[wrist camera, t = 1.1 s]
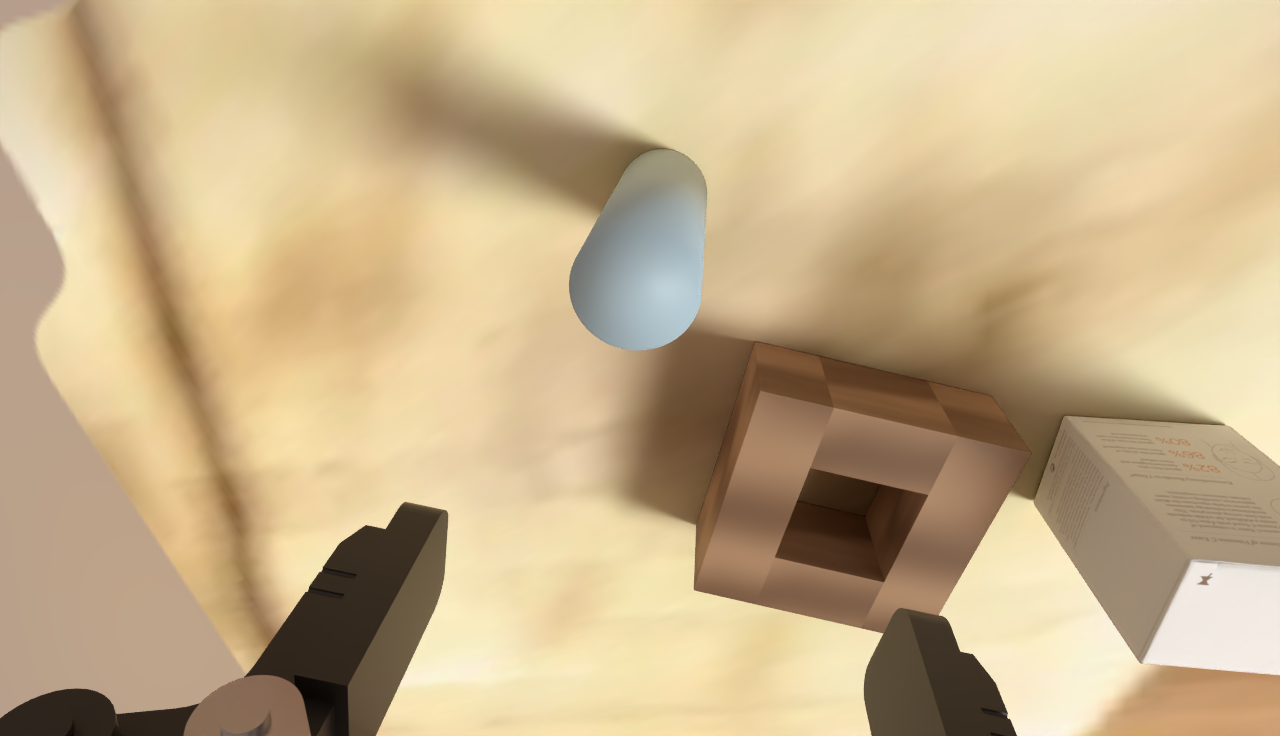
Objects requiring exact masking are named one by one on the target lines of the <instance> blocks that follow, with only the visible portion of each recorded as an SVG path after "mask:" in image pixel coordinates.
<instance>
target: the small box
mask: <svg viewBox="0 0 1280 736" xmlns="http://www.w3.org/2000/svg"><path fill="white" fill-rule="evenodd" d="M1034 505H1035V507H1036V508H1037V509H1038V511H1039V512H1040V514H1041V515H1042V517H1043V519H1044V520H1045V522H1046V523H1047V525H1048V526H1049V528H1050V529H1051V531H1052V532H1053V534H1054V535H1055V537H1056V538H1057V540H1058V541H1059V543H1060V544H1061V546H1062V547H1063V549H1064V550H1065V552H1066V553H1067V555H1068V556H1069V558H1070V559H1071V561H1072V562H1073V564H1074V565H1075V567H1076V568H1077V570H1078V571H1079V573H1080V574H1081V576H1082V577H1083V579H1084V580H1085V582H1086V583H1087V585H1088V586H1089V588H1090V589H1091V591H1092V592H1093V594H1094V595H1095V597H1096V598H1097V600H1098V601H1099V603H1100V604H1101V606H1102V607H1103V609H1104V610H1105V612H1106V613H1107V615H1108V616H1109V618H1110V619H1111V621H1112V622H1113V624H1114V625H1115V627H1116V628H1117V630H1118V631H1119V633H1120V634H1121V636H1122V637H1123V639H1124V640H1125V642H1126V643H1127V645H1128V646H1129V648H1130V649H1131V651H1132V652H1133V654H1134V655H1135V657H1136V658H1137V660H1138V661H1139V662H1140V663H1141V664H1155V665H1166V666H1178V667H1190V668H1202V669H1214V670H1226V671H1238V672H1249V673H1261V674H1272V675H1280V466H1279V465H1277V464H1276V463H1275V462H1274V461H1272V460H1271V459H1270V458H1269V457H1268V456H1266V455H1265V454H1264V453H1262V452H1261V451H1260V450H1259V449H1257V448H1256V447H1255V446H1254V445H1252V444H1251V443H1250V442H1249V441H1247V440H1246V439H1245V438H1244V437H1243V436H1241V435H1240V434H1239V433H1237V432H1236V431H1235V430H1234V429H1233V428H1232V427H1230V426H1222V425H1204V424H1189V423H1174V422H1157V421H1142V420H1127V419H1110V418H1093V417H1078V416H1064V417H1063V420H1062V423H1061V426H1060V429H1059V432H1058V434H1057V437H1056V440H1055V443H1054V446H1053V448H1052V451H1051V454H1050V457H1049V460H1048V463H1047V466H1046V469H1045V472H1044V475H1043V477H1042V480H1041V483H1040V486H1039V489H1038V491H1037V494H1036V497H1035V500H1034Z"/></svg>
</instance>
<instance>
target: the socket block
mask: <svg viewBox="0 0 1280 736" xmlns="http://www.w3.org/2000/svg"><path fill="white" fill-rule="evenodd" d="M1031 454H1032V453H1031V452H1030V450H1029V449H1028V447H1027V446H1026V444H1025V443H1024V442H1023V440H1022V439H1021V437H1020V436H1019V435H1018V433H1017V432H1016V430H1015V429H1014V427H1013V426H1012V425H1011V423H1010V422H1009V420H1008V419H1007V417H1006V416H1005V415H1004V413H1003V412H1002V410H1001V409H1000V407H999V406H998V405H997V403H996V402H995V400H994V399H993V397H992V396H989V395H985V394H980V393H976V392H972V391H967V390H963V389H959V388H954V387H950V386H946V385H941V384H937V383H933V382H928V381H924V380H920V379H915V378H911V377H907V376H902V375H898V374H894V373H889V372H885V371H881V370H876V369H872V368H868V367H863V366H859V365H855V364H850V363H846V362H842V361H837V360H833V359H829V358H824V357H820V356H816V355H811V354H807V353H803V352H798V351H794V350H790V349H785V348H781V347H777V346H772V345H768V344H764V343H759V342H755V343H754V346H753V349H752V352H751V355H750V358H749V362H748V365H747V368H746V371H745V374H744V377H743V380H742V384H741V387H740V390H739V393H738V396H737V399H736V403H735V406H734V409H733V412H732V415H731V418H730V421H729V425H728V428H727V431H726V434H725V437H724V440H723V443H722V447H721V450H720V453H719V456H718V459H717V462H716V466H715V469H714V472H713V475H712V478H711V481H710V484H709V488H708V491H707V494H706V497H705V500H704V503H703V506H702V510H701V513H700V516H699V519H698V522H697V525H696V548H695V573H694V590H695V591H700V592H704V593H709V594H713V595H717V596H722V597H726V598H731V599H735V600H739V601H744V602H748V603H752V604H757V605H761V606H766V607H770V608H774V609H779V610H783V611H788V612H792V613H796V614H801V615H805V616H810V617H814V618H818V619H823V620H827V621H832V622H836V623H840V624H845V625H849V626H854V627H858V628H862V629H867V630H871V631H876V632H880V633H884V632H885V630H886V628H887V626H888V624H889V622H890V620H891V618H892V616H893V614H894V612H895V611H896V610H897V609H898V608H905V609H910V610H915V611H919V612H924V613H929V614H934V615H939V613H940V611H941V610H942V608H943V606H944V604H945V603H946V601H947V599H948V598H949V596H950V594H951V592H952V591H953V589H954V587H955V585H956V584H957V582H958V580H959V578H960V577H961V575H962V573H963V572H964V570H965V568H966V566H967V565H968V563H969V561H970V559H971V558H972V556H973V554H974V552H975V551H976V549H977V547H978V546H979V544H980V542H981V540H982V539H983V537H984V535H985V533H986V532H987V530H988V528H989V526H990V525H991V523H992V521H993V520H994V518H995V516H996V514H997V513H998V511H999V509H1000V507H1001V506H1002V504H1003V502H1004V500H1005V499H1006V497H1007V495H1008V494H1009V492H1010V490H1011V488H1012V487H1013V485H1014V483H1015V481H1016V480H1017V478H1018V476H1019V474H1020V473H1021V471H1022V469H1023V468H1024V466H1025V464H1026V462H1027V461H1028V459H1029V457H1030V455H1031ZM810 468H813V469H817V470H821V471H826V472H830V473H834V474H839V475H843V476H848V477H852V478H856V479H861V480H865V481H869V482H874V483H878V484H880V485H879V487H878V490H877V492H876V494H875V496H874V498H873V500H872V502H871V505H870V507H869V509H868V511H867V513H866V515H865V516H861V515H857V514H852V513H848V512H844V511H839V510H835V509H830V508H826V507H822V506H817V505H813V504H809V503H804V502H800V501H797V500H798V497H799V495H800V492H801V490H802V487H803V485H804V482H805V480H806V477H807V475H808V472H809V470H810Z"/></svg>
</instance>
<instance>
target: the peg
mask: <svg viewBox="0 0 1280 736" xmlns="http://www.w3.org/2000/svg"><path fill="white" fill-rule="evenodd" d="M706 204H707V187H706V182H705V179H704V176H703V174H702V172H701V170H700V169H699V168H698V166H697V165H696V164H695V163H694V162H693V161H692V160H691V159H690V158H689V157H687V156H685V155H684V154H682V153H680V152H677V151H674V150H669V149H656V150H651V151H648V152H646V153H643V154H641V155H640V156H638V157H637V158H635V159H634V160H633V161H632V162H631V163H630V164H629V165H628V167H627V168H626V169H625V171H624V173H623V175H622V176H621V178H620V180H619V182H618V184H617V185H616V187H615V189H614V191H613V193H612V194H611V196H610V198H609V200H608V202H607V203H606V205H605V207H604V209H603V210H602V212H601V214H600V216H599V218H598V219H597V221H596V223H595V225H594V227H593V228H592V230H591V232H590V234H589V236H588V237H587V239H586V241H585V243H584V245H583V246H582V248H581V250H580V252H579V253H578V255H577V257H576V259H575V261H574V263H573V266H572V269H571V273H570V280H569V292H570V298H571V302H572V305H573V308H574V310H575V312H576V314H577V316H578V318H579V319H580V321H581V322H582V323H583V325H584V326H585V327H586V328H587V329H588V330H589V331H590V332H591V333H592V334H593V335H595V336H596V337H597V338H599V339H600V340H602V341H604V342H605V343H607V344H610V345H612V346H615V347H618V348H621V349H627V350H637V351H640V350H650V349H655V348H658V347H661V346H664V345H666V344H668V343H670V342H672V341H673V340H675V339H677V338H678V337H679V336H680V335H682V334H683V333H684V332H685V331H686V330H687V329H688V327H689V326H690V325H691V323H692V322H693V320H694V318H695V316H696V314H697V312H698V309H699V306H700V302H701V294H702V276H703V258H704V240H705V222H706Z"/></svg>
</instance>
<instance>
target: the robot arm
mask: <svg viewBox="0 0 1280 736" xmlns="http://www.w3.org/2000/svg"><path fill="white" fill-rule="evenodd" d="M447 528H448V513H447V511H446V510H441V509H437V508H432V507H427V506H422V505H418V504H413V503H408V502H404V503H403V504H402V505H401V506H400V507H399V509H398V510H397V512H396V514H395V515H394V517H393V518H392V520H391V522H390V523H389V525H388V526H387V528H386V529H382V528H377V527H372V526H367V525H366V526H364V527H363V528H361V529H360V530H358V531H357V532H355V533H354V534H352V535H351V536H350V537H348V538H347V539H345V540H344V541H342V542H341V543H340V544H339V545H338V546H337V548H336V549H335V551H334V552H333V554H332V555H331V556H330V558H329V559H328V561H327V562H326V564H325V565H324V566H323V570H322V572H319V574H318V575H317V576H316V578H315V579H314V581H313V582H312V584H311V585H310V586H309V590H308V592H305V594H304V595H303V596H302V598H301V599H300V601H299V602H298V604H297V605H296V606H295V608H294V609H293V611H292V612H291V614H290V615H289V617H288V618H287V619H286V621H285V622H284V624H283V625H282V627H281V628H280V629H279V631H278V632H277V634H276V635H275V637H274V638H273V639H272V641H271V642H270V644H269V645H268V647H267V648H266V649H265V651H264V652H263V654H262V655H261V657H260V658H259V659H258V661H257V662H256V664H255V665H254V666H253V668H252V669H251V670H250V671H249V673H248V674H247V675H246V676H245V677H244V678H241V679H238V680H235V681H232V682H230V683H228V684H226V685H224V686H222V687H220V688H218V689H217V690H215V691H214V692H212V693H211V694H210V695H209V696H207V697H206V698H205V699H204V700H203V701H202V702H201V703H199V704H196V705H192V706H188V707H182V708H176V709H166V710H155V711H145V712H135V713H125V714H116V713H115V710H114V706H113V704H112V703H111V701H110V700H109V699H108V698H107V697H105V696H104V695H103V694H100V693H98V692H96V691H92V690H88V689H65V690H60V691H55V692H51V693H48V694H45V695H41V696H39V697H36V698H34V699H31V700H29V701H27V702H25V703H23V704H21V705H19V706H18V707H16V708H14V709H13V710H11V711H10V712H8V713H7V714H5V715H4V716H3V717H2V718H0V736H376V734H377V732H378V730H379V727H380V725H381V723H382V721H383V719H384V717H385V715H386V712H387V710H388V708H389V706H390V704H391V702H392V700H393V697H394V695H395V693H396V691H397V689H398V687H399V685H400V682H401V680H402V678H403V676H404V674H405V672H406V670H407V668H408V665H409V663H410V661H411V659H412V657H413V655H414V653H415V650H416V648H417V646H418V644H419V642H420V640H421V638H422V635H423V633H424V631H425V629H426V627H427V625H428V623H429V620H430V618H431V616H432V614H433V612H434V610H435V607H436V605H437V602H438V599H439V596H440V593H441V589H442V585H443V580H444V573H445V559H446V543H447ZM864 700H865V706H866V710H867V715H868V720H869V725H870V730H871V735H872V736H1017V735H1016V732H1015V730H1014V727H1013V725H1012V722H1011V720H1010V719H1008V718H1007V714H1008V713H1007V710H1006V708H1005V705H1004V703H1003V700H1002V698H1001V695H1000V693H999V690H998V688H997V685H996V683H995V682H994V681H993V679H992V678H991V677H990V675H989V674H988V673H987V672H986V670H985V669H984V668H983V667H982V665H981V664H980V663H979V661H978V660H977V659H976V658H975V656H974V655H973V654H968V653H963V652H960V650H959V647H958V645H957V642H956V639H955V636H954V634H953V631H952V628H951V626H950V624H949V622H948V620H947V619H946V618H945V617H943V616H938V615H934V614H929V613H924V612H919V611H915V610H910V609H905V608H898V609H897V610H896V611H895V612H894V614H893V616H892V618H891V620H890V622H889V624H888V626H887V628H886V630H885V632H884V634H883V636H882V638H881V640H880V642H879V644H878V646H877V648H876V650H875V652H874V654H873V656H872V658H871V660H870V662H869V664H868V666H867V669H866V674H865V680H864Z"/></svg>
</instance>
